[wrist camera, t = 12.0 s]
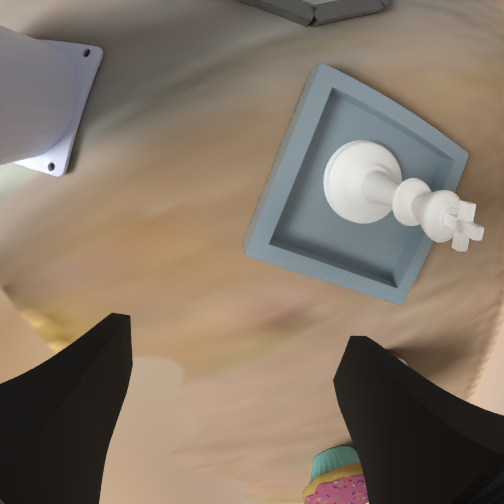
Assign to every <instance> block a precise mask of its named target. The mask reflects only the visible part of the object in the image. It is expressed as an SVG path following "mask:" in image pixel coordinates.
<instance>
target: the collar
mask: <svg viewBox="0 0 504 504" xmlns="http://www.w3.org/2000/svg"><path fill="white" fill-rule="evenodd" d="M234 1H237V2H241V3H244V4H247V5H250V6H253V7H256V8H259V9H262V10H265V11H268V12H270V13H273V14H276V15H278V16H281V17H284V18H286V19H289V20H291V21H294V22H296V23H299V24H301V25H303V26H306V27H307V25H308V24H309V23H310V24H311V26H312V27H315V26H319V25H323V24H327V23H331V22H335V21H339V20H344V19H348V18H353V17H358V16H363V15H368V14H374V13H376V12H378V11H379V10H381V9H382V8H384V7H385V6H386V5H387V3H388V0H338V1H333V2H328V3H324V4H319V5H315V6H313V5H311V4H308V3H306V2H303V1H301V0H234Z"/></svg>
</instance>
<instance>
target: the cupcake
mask: <svg viewBox="0 0 504 504" xmlns="http://www.w3.org/2000/svg"><path fill="white" fill-rule="evenodd" d="M302 496H303V500H304V503H305V504H365V503H367V502H368V501H369V500H368V494H367V489H366V484H365V480H364V475H363V471H362V467H361V463H360V460H359V457H358V454H357V452H356V451H355V450H354V449H353V448H352V447H349V446H339V447H334V448H331V449H328V450H326V451H324V452H322V453H320V454H319V455H318V456H317V457H316V458H315V459H314V460H313V465H312V474H311V480H310V484H309V485H308V486H307V487H306V488H305V489H304V490H303V493H302Z"/></svg>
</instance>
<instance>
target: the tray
mask: <svg viewBox="0 0 504 504" xmlns="http://www.w3.org/2000/svg"><path fill="white" fill-rule="evenodd" d="M356 140H368V141H372V142H375V143H377V144H379V145H381V146H383V147H385V148H386V149H387V150H389V151H390V152H391V153H392V154H393V156H394V157H395V159H396V160H397V162H398V164H399V167H400V170H401V174H402V182H403V181H405V180H407V179H409V178H417V179H420V180H422V181H423V182H425V183H426V184H427V185H428V187H429V188H430V190H431V192H435V191H439V190H449V191H452V192H454V193H455V191H456V189H457V186H458V184H459V181H460V178H461V176H462V173H463V170H464V167H465V164H466V162H467V159H468V156H469V153H467V152H466V151H465V150H464V149H462V148H461V147H460V146H458V145H457V144H456V143H455V142H453V141H452V140H451V139H449V138H448V137H447V136H445V135H444V134H442V133H441V132H440V131H438V130H437V129H435V128H434V127H433V126H431V125H430V124H428V123H427V122H425V121H424V120H422V119H421V118H419V117H418V116H416V115H415V114H413V113H412V112H410V111H409V110H407V109H406V108H404V107H402V106H401V105H399V104H398V103H396V102H394V101H393V100H391V99H389V98H388V97H386V96H384V95H383V94H381V93H379V92H377V91H376V90H374V89H372V88H370V87H369V86H367V85H365V84H363V83H361V82H359V81H358V80H356V79H354V78H352V77H350V76H348V75H346V74H344V73H342V72H340V71H338V70H336V69H334V68H332V67H330V66H328V65H326V64H324V63H320V64H318V65H317V66H315V67H314V68H312V69H311V71H310V73H309V76H308V78H307V81H306V83H305V86H304V88H303V91H302V93H301V96H300V98H299V101H298V103H297V106H296V108H295V110H294V113H293V115H292V118H291V120H290V123H289V125H288V128H287V130H286V133H285V135H284V138H283V140H282V143H281V145H280V148H279V150H278V153H277V155H276V158H275V160H274V163H273V166H272V168H271V171H270V173H269V176H268V178H267V181H266V183H265V186H264V188H263V191H262V193H261V196H260V198H259V201H258V204H257V206H256V209H255V211H254V214H253V216H252V219H251V221H250V224H249V227H248V229H247V232H246V234H245V237H244V239H243V242H242V245H243V251H244V255H245V256H248V257H251V258H254V259H257V260H261V261H264V262H267V263H270V264H273V265H276V266H279V267H282V268H285V269H288V270H292V271H295V272H298V273H301V274H304V275H307V276H310V277H313V278H317V279H320V280H323V281H326V282H329V283H332V284H335V285H338V286H342V287H345V288H348V289H351V290H354V291H357V292H360V293H363V294H367V295H370V296H373V297H376V298H379V299H382V300H386V301H389V302H392V303H395V304H398V305H402V303H403V301H404V299H405V298H406V296H407V294H408V292H409V290H410V288H411V287H412V285H413V283H414V281H415V279H416V277H417V275H418V273H419V271H420V269H421V267H422V265H423V263H424V261H425V259H426V257H427V255H428V253H429V251H430V249H431V247H432V245H433V243H434V241H433V240H431V239H430V238H429V237H428V236H427V235H426V233H425V232H424V230H423V229H422V227H421V225H420V224H419V225H416V226H406V225H403V224H401V223H400V222H399V221H398V220H397V219H396V217H395V216H394V213H393V209H392V210H391V212H390V213H389V214H387V215H386V216H385V217H384V218H382V219H380V220H378V221H376V222H373V223H367V224H360V223H355V222H352V221H349V220H346V219H344V218H342V217H341V216H339V215H338V214H337V213H336V212H335V211H334V210H333V209H332V208H331V206H330V205H329V203H328V201H327V199H326V196H325V192H324V185H323V180H324V172H325V169H326V166H327V163H328V161H329V160H330V158H331V156H332V155H333V154H334V153H335V152H336V151H337V150H338V149H339V148H340V147H341V146H343V145H345V144H347V143H349V142H352V141H356Z"/></svg>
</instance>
